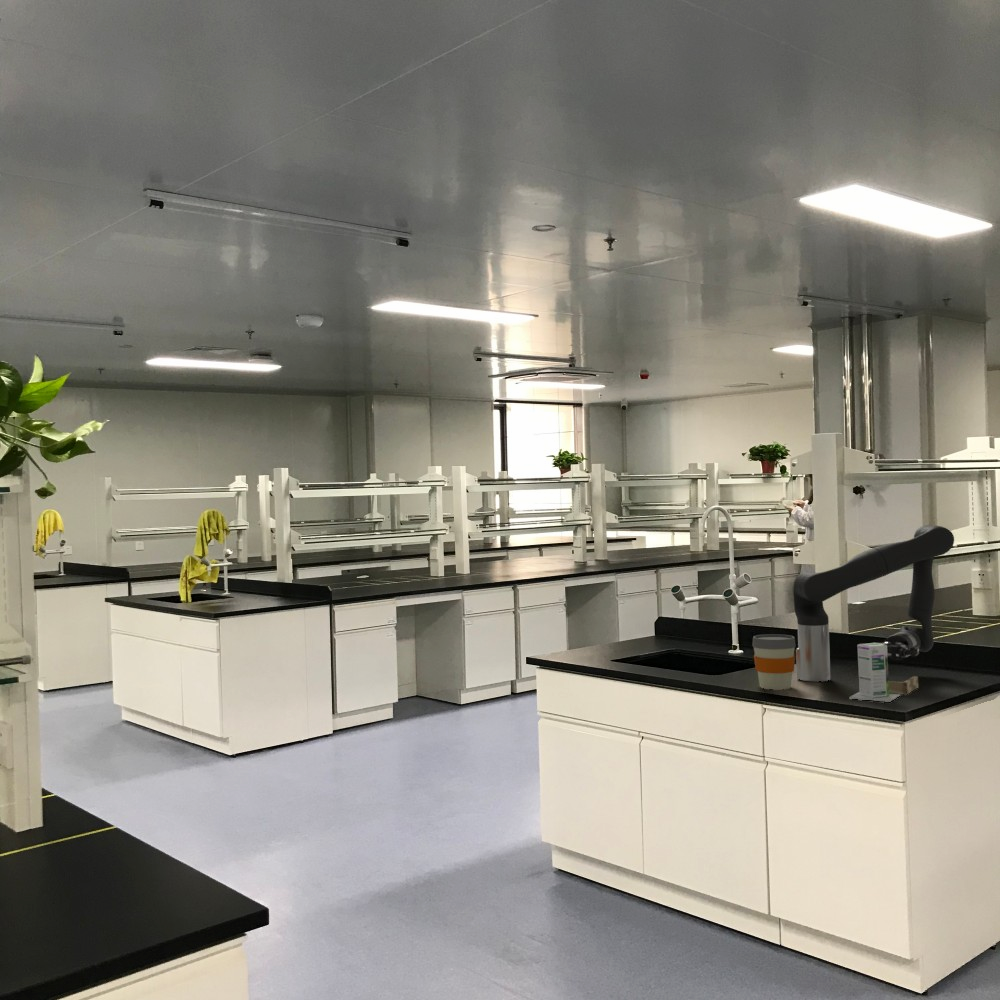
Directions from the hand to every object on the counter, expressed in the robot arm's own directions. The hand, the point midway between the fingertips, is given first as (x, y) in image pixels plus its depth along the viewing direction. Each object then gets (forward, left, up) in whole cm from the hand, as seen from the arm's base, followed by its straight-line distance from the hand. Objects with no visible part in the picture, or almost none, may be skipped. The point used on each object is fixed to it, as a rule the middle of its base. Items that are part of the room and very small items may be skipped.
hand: (884, 652), depth 286 cm
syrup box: (0, -11, -11) cm, 15 cm away
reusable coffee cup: (-30, -8, -11) cm, 33 cm away
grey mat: (0, -11, -11) cm, 15 cm away
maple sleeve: (+1, +2, -11) cm, 11 cm away
